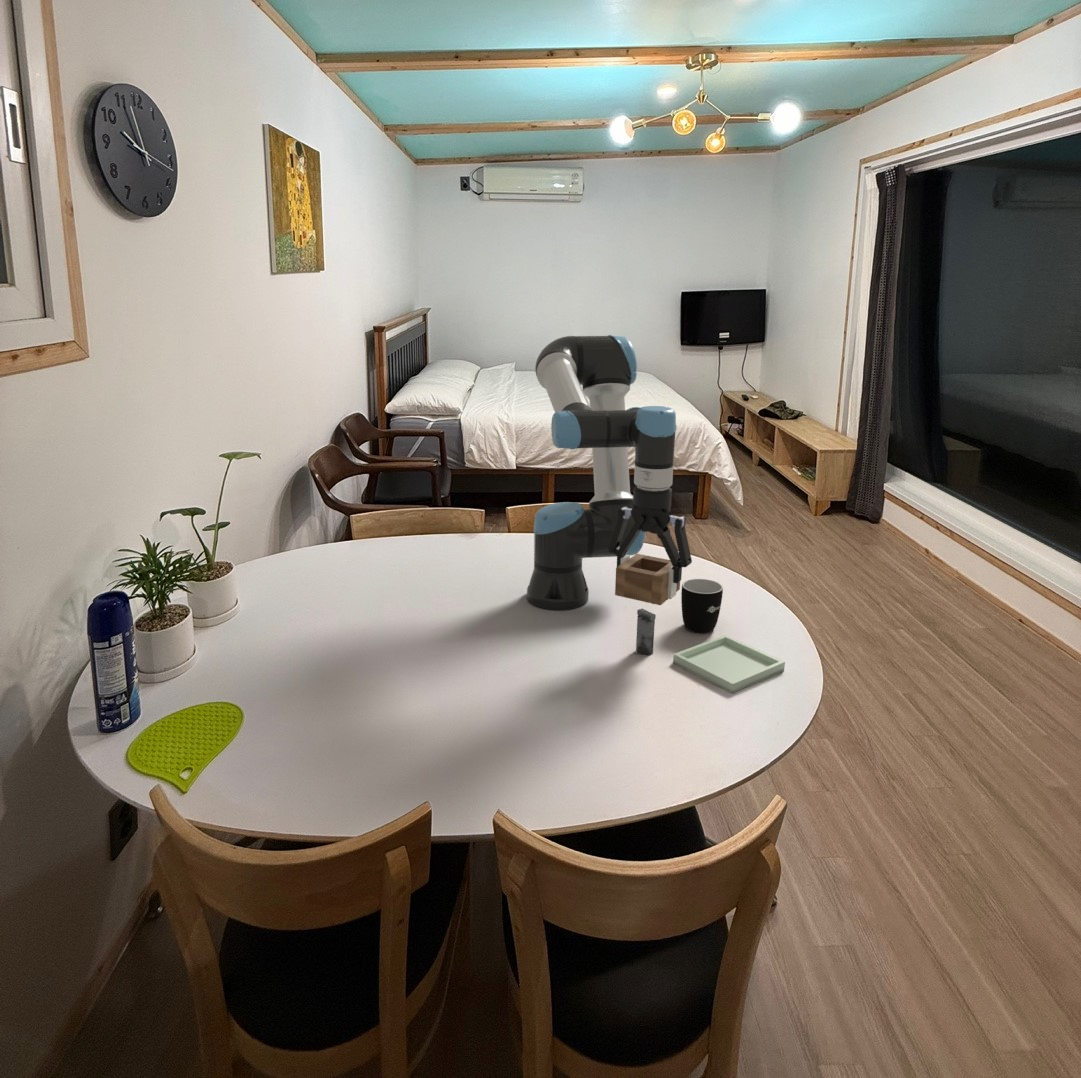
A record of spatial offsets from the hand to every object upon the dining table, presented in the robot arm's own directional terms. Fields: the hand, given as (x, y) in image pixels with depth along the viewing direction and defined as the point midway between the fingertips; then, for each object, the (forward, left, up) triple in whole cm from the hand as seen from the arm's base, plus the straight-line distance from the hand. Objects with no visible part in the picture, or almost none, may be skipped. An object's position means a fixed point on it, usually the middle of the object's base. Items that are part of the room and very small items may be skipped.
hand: (647, 591), depth 165 cm
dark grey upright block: (0, 0, -14) cm, 14 cm away
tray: (+15, +9, -14) cm, 22 cm away
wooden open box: (0, 0, 0) cm, 0 cm away
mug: (-2, +20, -14) cm, 24 cm away
